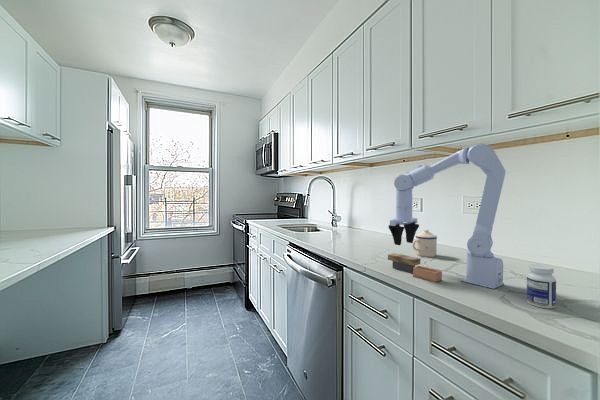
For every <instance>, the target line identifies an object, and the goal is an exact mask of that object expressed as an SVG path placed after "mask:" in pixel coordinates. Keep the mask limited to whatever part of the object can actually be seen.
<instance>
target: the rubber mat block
mask: <svg viewBox="0 0 600 400" xmlns="http://www.w3.org/2000/svg"><path fill="white" fill-rule="evenodd" d="M413 267H416V265H415V266H413V265H408V264H404V263H400V262H396V261H392V269H396V270H399V271H403V272H407V273H410V274H411V273H412V274H413Z"/></svg>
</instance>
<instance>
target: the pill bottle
mask: <svg viewBox="0 0 600 400" xmlns="http://www.w3.org/2000/svg"><path fill="white" fill-rule="evenodd" d="M529 271H530V272H529V273H527V275H526V301H527V303H528V304H529V305H532V306H533V307H536V308H541V309H550V310H551V309H555V308H556V306H557V279H556V277H555V276H554V275H553V274H554V272H555V269H554V267H552V266H550V265H545V264H529Z"/></svg>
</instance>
